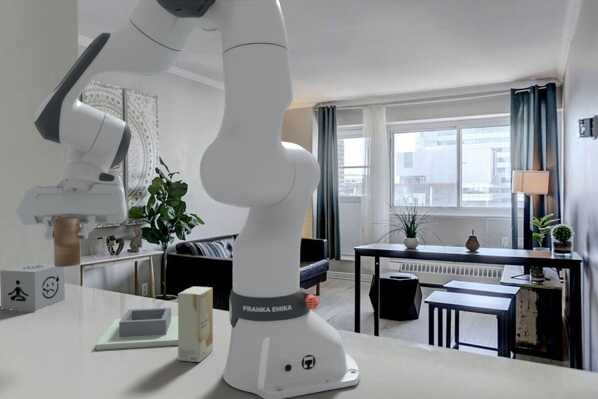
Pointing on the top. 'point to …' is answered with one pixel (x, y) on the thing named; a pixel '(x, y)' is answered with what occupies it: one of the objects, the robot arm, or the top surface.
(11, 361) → the top surface
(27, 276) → the icon cube
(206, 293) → the skincare box
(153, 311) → the collar holder
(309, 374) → the robot arm
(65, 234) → the brown dome-topped peg
